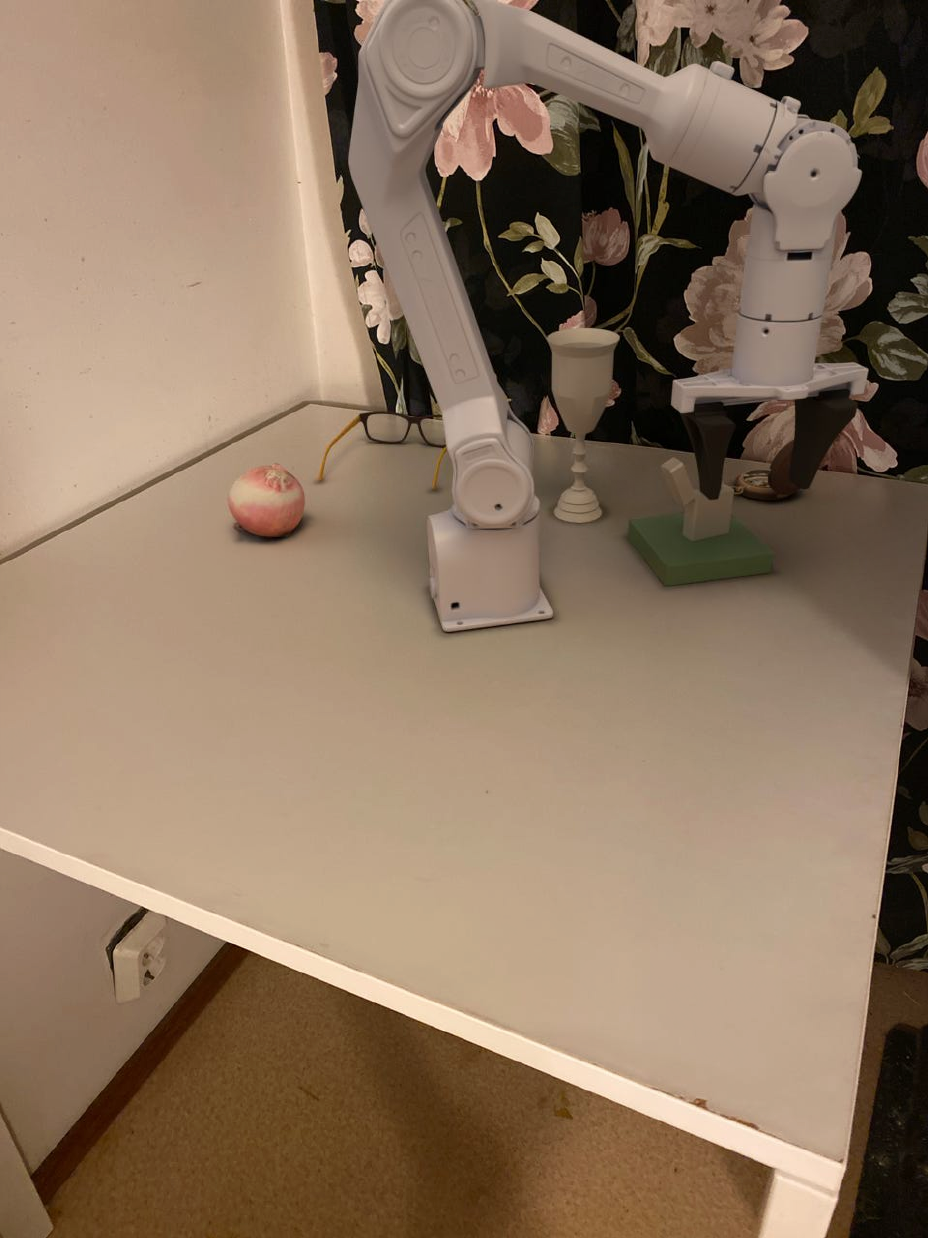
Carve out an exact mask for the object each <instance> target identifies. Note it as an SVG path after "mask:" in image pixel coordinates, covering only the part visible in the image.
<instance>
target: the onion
mask: <svg viewBox="0 0 928 1238" xmlns="http://www.w3.org/2000/svg"><path fill="white" fill-rule="evenodd" d="M227 505H228V509H229V511H230V513H231V515H232V518H233V519H234V520H235V521H236V522H234V523H233V525H232V530H233V531H235V532H238V533H241V532H243V531H242V530H240V529H243V530H245V531H247V532H249V533H251V534H253V535H254V534H255V535H257V536H261V537H267V538H272V537H275V538H276V537H278V538H279V537H280V538H281V537H282V538H283V537H285V538H290V534H291V533H292V531H293V530H294V529H295V528H296V527H297V526H298V525H299V523H300V522H301V519H302V518H303V514H304V510H305V506H306V496H305V491H304V489H303V486H302V484H301V483H300V481H299V480H298V478H296V477H295V476H294V474H292V473H290V471H288V470H287V469H286V468H285V467H283V466H282V465H280V463H277V462H274V463H272V464H271V465H261V466H257V467H255V468H252V469H249V470H248V471H246V472H244V473H243V474H241V475H240V476H239V477H238V478H237V479H236V480H235V481H234V482H233V483H232V485H231V487H230V489H229V492H228V495H227Z"/></svg>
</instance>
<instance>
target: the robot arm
mask: <svg viewBox="0 0 928 1238" xmlns="http://www.w3.org/2000/svg"><path fill="white" fill-rule="evenodd" d="M470 1H471V2H472V5H473V8H474V9H475V10H476V11H477V12H478V15H475V13H474V11H473V10H472V9H471V8H470V7H469V5H467V4H466V3H465V2H464V0H385V1H384V2H383V3H382V5H381V7H380V9H378V10H379V11H378V12H377V14H376V17H375V18H374V21H373V23H372V25H371V26H370V29H369V31H368V33H367V35H366V37H365V39H364V41H363V43H362V45H361V47H360V49H359V51H358V57H357V59H358V60H357V61H358V80H357V81H358V82H357V90H356V98H355V105H354V112H353V120H352V126H351V127H352V128H351V135H350V136H351V137H350V142H349V148H348V149H349V150H348V157H347V158H348V159H347V160H348V161H347V162H348V163H347V164H348V168H349V169H348V170H349V173H350V176H351V181H352V182H353V185H354V188H355V190H356V193H357V195H358V198H359V201H360V204H361V206H362V209H363V211H364V214H365V217H366V219H367V222H368V224H369V227H370V230H371V233H372V235H373V237H374V240H375V243H376V245H377V248H378V250H379V254H380V256H381V259H382V261H383V264H384V267H385V269H386V272H387V274H388V277H389V280H390V282H391V284H392V287H393V290H394V292H395V295H396V297H397V301H398V303H399V305H400V308H401V311H402V313H403V316H404V318H405V321H406V324H407V327H408V329H409V332H410V334H411V337H412V339H413V342H414V344H415V348H416V350H417V352H418V356H419V358H420V360H421V363H422V365H423V368H424V371H425V374H426V375H427V379H428V382H429V385H430V387H431V389H432V393H433V394H434V397H435V400H436V402H437V405H438V407H439V410H440V413H441V415H442V417H441V418H442V426H443V432H444V440H445V445H447V452H448V453H447V454H448V455H449V458H450V460H451V463H452V468H453V475H452V476H453V477H452V483H451V495H452V499H453V500H452V504H451V508H448V509H447V510H445V511H442V512H439V513H435V514H431V515H428V516H427V518H426V532H427V535H426V536H427V547H428V561H429V562H428V563H429V575H430V576H429V580H428V581H429V593H430V596H431V598H432V599H433V601H434V604H435V608H436V613H437V614H438V618H439V622H440V625H441V628H442V630H443V631H444V632H448V633H449V632H456V631H457V632H458V631H465V630H472V629H481V628H487V627H494V626H503V625H510V624H516V623H526V622H533V621H540V620H549V619H551V618H553V617H554V611H553V608H552V607H551V605H550V602H549V601H548V599H547V597H546V595H545V593H544V591H543V589H542V588H541V585H540V565H541V564H540V559H541V558H540V557H541V556H540V555H541V554H540V549H541V547H540V546H541V544H540V543H541V542H540V539H541V538H540V537H541V536H540V535H541V534H540V533H541V529H540V527H541V521H540V520H541V515H540V514H541V502H540V500H539V497H538V496H536V494H535V488H536V487H535V480H534V476H533V460H534V457H535V442H534V439H533V435H532V432H531V431H530V430H529V428H528V427H527V426H526V425H525V423H523V422H522V421H521V420H520V419H519V418H518V417H517V416H516V415H515V413H514V412H513V411H512V408H511V406H510V403H509V401H508V397H507V395H506V394H505V392H504V390H503V389H502V387H501V385H500V384H499V382H498V380H497V377H496V374H495V371H494V368H493V366H492V363H491V359H490V357H489V354H488V350H487V348H486V345H485V342H484V340H483V339H484V338H483V336H482V334H481V331H480V327H479V325H478V322H477V319H476V316H475V312H474V310H473V308H472V305H471V301H470V298H469V295H468V292H467V289H466V287H465V284H464V281H463V278H462V275H461V272H460V270H459V269H460V268H459V266H458V264H457V261H456V258H455V254H454V252H453V249H452V246H451V243H450V240H449V237H448V234H447V231H446V228H445V225H444V222H443V220H442V216H441V214H440V211H439V207H438V205H437V202H436V199H435V196H434V194H433V191H432V187H431V184H430V181H429V179H428V176H427V172H426V168H427V164H428V162H429V160H430V158H431V155H432V154H433V152H434V149H435V146H436V144H437V143H438V140H439V137H440V135H441V133H442V131H443V128H444V123H445V122H446V120H447V119H448V117H449V116H450V115H451V114H452V112H453V111H454V110H455V109H456V108H457V107H458V106H459V105H460V103H461V102H463V100H464V99H465V97H466V96H467V95H468V94H469V92H470V91H471V90H472V88H473V87H474V86H475V85H476V83H477V81H478V79H479V77H480V75H481V73H482V70H484V71H483V84H482V85H483V89H484V90H488V89H494V88H501V87H502V88H503V87H508V86H509V87H510V86H517V85H524V84H526V85H527V84H531V85H535V86H538V87H541V88H543V89H545V90H548V91H550V92H552V93H555V94H557V95H560V96H562V97H565V98H567V99H570V100H572V101H575V102H577V103H578V104H579V103H580V104H581V105H585V106H587V107H590V108H592V109H594V110H596V111H599V112H601V113H603V114H606V115H609V116H611V117H614V118H616V119H619V120H621V121H624V122H625V123H628V124H631V125H633V126H635V127H638V128H641V130H642V132H644V133H643V134H644V136H645V139H646V144H647V146H648V150H649V153H650V156H651V158H652V159H653V160H654V161H656V162H658V163H660V164H662V165H664V166H667V167H669V168H672V169H673V170H676V171H679V172H681V173H683V174H685V175H688V176H689V177H693V178H695V179H696V180H698V181H701V182H704V183H706V184H708V185H710V186H713V187H715V188H717V189H719V190H721V191H724V192H726V193H729V194H731V195H733V196H736V197H740V196H744V195H747V194H748V196H749V198H750V200H751V201H752V202H753V203H754V204H753V205H752V213H751V219H750V220H751V221H750V229H749V238H748V241H747V243H746V246H745V247H746V248H745V256H744V265H743V273H742V281H741V290H740V298H739V306H738V312H737V320H736V330H735V338H734V344H733V353H732V363H731V367H730V368H726V369H721V370H717V371H713V372H708V373H706V374H701V375H697V376H693V377H687V378H680V379H673V380H672V388H671V398H670V399H671V401H670V405H671V406H672V407H673V409H675V410H676V411H678V413H679V415H680V417H681V419H682V421H683V424H684V426H685V429H686V432H687V434H688V437H689V440H690V443H691V446H692V450H693V453H694V458H695V463H696V467H697V475H698V487H699V486H700V492H701V493H702V494H703V495H704V496H705V497H707V498H708V499H709V500H718V498H719V495H720V491H721V485H722V480H723V474H724V466H725V460H726V456H727V452H728V449H729V445H730V442H731V438H732V437H733V433H734V431H735V428H736V426H737V425H736V424H735V423H734V422H733V421H732V420H731V419H729V418H728V417H727V414H728V412H727V410H724V406H733V405H743V404H753V403H761V402H772V401H792V400H793V401H794V436H793V440H794V443H793V449H792V455H791V461H790V468H789V480H790V481H791V482H793V483H794V484H795V485H796V486H798V487H799V488H800V490H809V489H810V487H811V485H812V483H813V481H814V479H815V477H816V474H817V472H818V470H819V468H820V466H821V464H822V462H823V460H824V458H825V457H826V455H827V454H828V452H829V450H830V449H831V447H832V445H833V444H834V442H835V441H836V440H837V438H838V437H839V435H840V434H841V433H842V432H843V431H844V429H845V428H846V427H847V426H848V425H849V424H850V422H852V420H853V419H855V418H856V415H857V410H858V405H859V404H858V402H857V401H855V400H854V399H851V398H850V396H859V395H864V394H865V389H866V383H867V379H868V375H869V368H868V367H865V366H863V365H861V364H859V363H856V362H854V361H853V362H837V363H832V362H831V363H824V362H823V363H822V362H821V363H820V362H819V363H815V362H816V355H817V351H818V345H819V339H820V338H819V337H820V333H821V326H822V321H823V315H824V310H825V309H824V308H825V303H826V297H827V291H828V286H829V279H830V274H831V268H832V263H833V257H834V253H835V252H834V251H835V238H836V233H837V228H838V227H837V226H838V222H839V221H838V220H839V217H840V212H841V211H842V210H843V209H844V208H845V207H847V205H848V204H849V202H850V201H851V199H852V198H853V196H854V194H855V193H856V192H857V189H858V187H859V185H860V182H861V179H862V175H863V171H862V169H859V168H858V163H859V161H858V159H859V158H858V151H857V148H856V144H855V143H853V142H852V139H851V138H852V137H851V135H850V134H849V133H848V132H847V131H846V130H845V129H843V128H842V127H841V126H839V125H837V124H835V123H832V122H829V121H823V120H817V119H811V118H810V117H809V116H808V115H807V114H798V112H799V110H800V108H801V106H802V104H801V103H802V102H801V101H800V100H798V99H796V98H793V97H791V96H787V95H786V96H785V95H784V96H783V97H782V99H781V100H780V101H779V100H776V99H774V98H772V97H770V96H768V95H766V94H763V93H761V92H759V91H757V90H755V89H752V88H750V87H748V86H746V85H744V84H741V83H739V82H737V81H735V80H733V79H732V78H733V75H734V73H735V68H734V67H733V66H730V65H729V64H727V63H724V62H723V61H719V60H716V61H712V62H711V65H710V67H709V69H708V68H707V67H705V66H702V65H700V64H698V63H692V64H689V65H687V66H685V67H683V68H681V69H680V70H678V71H675V72H674V73H672V74H670V75H668V76H663V75H661V74H659V73H657V72H655V71H653V70H650V69H649V68H647V67H645V66H643V65H640V64H638V63H637V62H635V61H632V60H630V59H629V58H626V57H624V56H622V55H621V54H619V53H617V52H614V51H613V50H611V49H608V48H606V47H605V46H602V45H601V44H598V43H597V42H594V41H593V40H591V39H589V38H586V37H584V36H582V35H580V34H578V33H576V32H575V31H572V30H571V29H569V28H566V27H564V26H562V25H560V24H559V23H556V22H554V21H552V20H551V19H548V18H547V17H544V16H542V15H540V14H538V13H536V12H533V11H531V10H529V9H525V8H523V7H520V6H519V7H518V6H515V5H513V4H508V3H506V2H502V1H498V0H470Z"/></svg>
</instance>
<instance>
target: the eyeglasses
mask: <svg viewBox="0 0 928 1238" xmlns="http://www.w3.org/2000/svg"><path fill="white" fill-rule="evenodd" d="M373 415H392V416H397V417H401V418H402V419H404V420H406V421H407V428H406V431H405V434H404V436H403V438H402V439H401V440H397V441H389V440H388V441H387V440H383V439H381V440H380V439H377V438H373V437H372V436H371V435H370V433H369V429H368V419H369V417H370V416H373ZM431 418H442V414H427V415H422V416H411V415H406V414H403V413H400V412H395V411H387V410H385V411H382V410H381V411H378V410H377V411H368V412H360V413H359V414H357V416H356V417H355V418H353V420H351V421H350V423H348V424H347V425H346V427H344V428H343V430H342V431H340V433H339V434H338V435H337V436H336V437H335V438H334V439H333V440H332V441H330V443H329V444H328V445H327V447H326V449H325V452H324V455H323V458H322V462H321V466H320V470H319V474H318V481H320V482H321V481H322V479H323V476H324V471H325V465H326V460H327V458H328V457H327V456H328V454H329V452H330V450H331V448H332V447H333V446H335V444H336V443H337V442H338V441H340V440H341V439H342V438H343V437H344V436H345V435H346V434H347V433H348V432H350V431H351V429H352V428H354V427H356V426H357V425H358V424H359V423H362V425H363V428H364V429H363V430H364V433H365V435H366V437H367V439H368V440H370V441H371V442H376V443H380V444H388V445H389V444H390V445H396V444H402V443H403V442H405V440H406V439H407V437H408V435H409V433H410V430H411V427H412V425H413V424H414V425H415V424H416V425H417V428H418V429H417V430H418V432H419V434H420V436H421V438H422V440H423V441H424V443H425V444H427V445H428V446H431V447H436V448H443V449H442V451H441V452H440V455H439V457H438V460H437V463H436V468H435V472H434V477H433V481H432V487H431V489H432V490H433V491H434V490H436V487H437V480H438V475H439V469H440V465H441V461H442V458H443V457H444V455H445V454H446V452H448V450H447V445H446V444H436V443H433V442H430V441H428V439H427V438H426V436H425V434H424V431H423V428H422V425H421V423H422V421H423V420H426V419H431Z"/></svg>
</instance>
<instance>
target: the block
mask: <svg viewBox="0 0 928 1238" xmlns="http://www.w3.org/2000/svg"><path fill="white" fill-rule="evenodd" d="M684 514H685V512H682V513H672V514H665V515H657V516H656V515H655V516H646V517H640V518H631V519H628V529H627V539H628V541H630V543H631V544H632V546H634V548H635V549H636V550H637V552H638V553H639V554H640V556H641V557H642V559H644V561H645V562H646V563H647V564H648V567H650V569H651V570H652V571H653V572H654V574H655V575H656V577H658V579H659V580H660V581H661V583H662V584H663V585H664V587H671V586H678V585H679V586H680V585H687V584H692V583H693V584H695V583H701V582H708V581H717V580H724V579H733V578H740V577H746V576H747V577H748V576H756V575H763V574H770V573H771V571H772V564H773V558H774V552H772V551H771V550H770V548H768V547H767V546H766V545H765V544H764V542H762V541H761V540H760V539H759V538H758V537H757V536H756V535H754V534H753V533H752V531H751V530H749V529H748V528H747V527H746V526H745V525H744V524H743V523H742V522H741V521H740V520H739V519H738V518H737V517H736V516H735V515H734V514H732V513H731V517H730V525H729V532H728V533H726V534H721V535H717V536H713V537H709V538H704V539H700V540H696V541H691V540H689V539H688V538H687V537H685V536H684V535H682V534H683V524H684Z"/></svg>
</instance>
